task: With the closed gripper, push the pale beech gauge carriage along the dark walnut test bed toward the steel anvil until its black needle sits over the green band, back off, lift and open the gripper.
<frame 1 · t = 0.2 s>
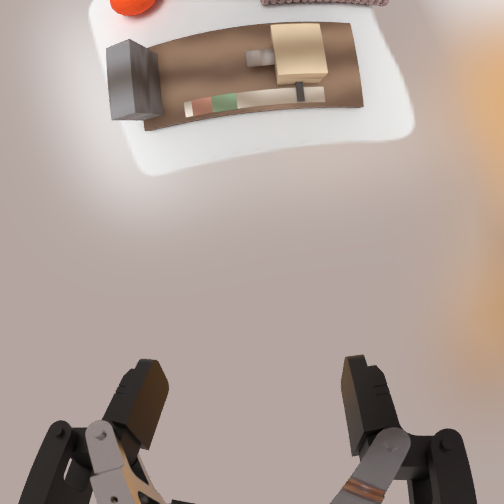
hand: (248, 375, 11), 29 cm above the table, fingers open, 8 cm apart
gauge carriage: (284, 65, 25), point 5 cm above the table, slide at 0.0 cm
clementine: (147, 1, 25), on the table
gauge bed: (246, 69, 29), on the table
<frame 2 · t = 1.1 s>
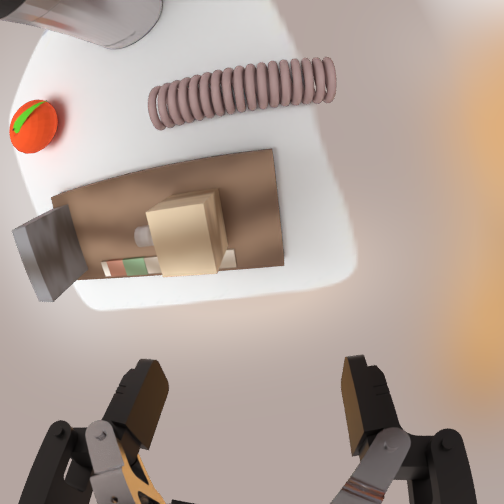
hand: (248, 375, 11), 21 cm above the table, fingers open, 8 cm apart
gauge carriage: (178, 244, 25), point 5 cm above the table, slide at 0.0 cm
clementine: (53, 121, 26), on the table
coil: (244, 92, 24), on the table
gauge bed: (155, 220, 30), on the table
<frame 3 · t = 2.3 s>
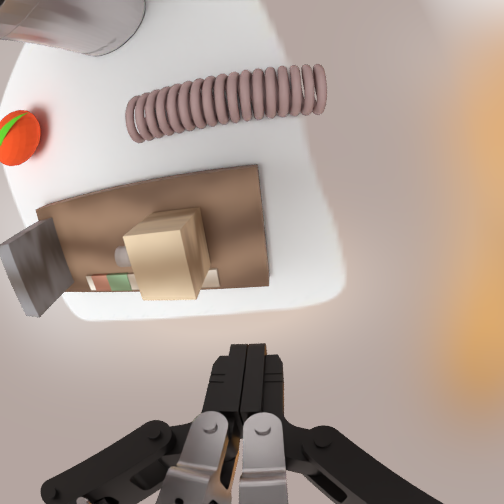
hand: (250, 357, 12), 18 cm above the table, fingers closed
gauge carriage: (159, 265, 24), point 5 cm above the table, slide at 0.0 cm
clementine: (37, 131, 24), on the table
coil: (228, 101, 23), on the table
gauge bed: (138, 236, 29), on the table
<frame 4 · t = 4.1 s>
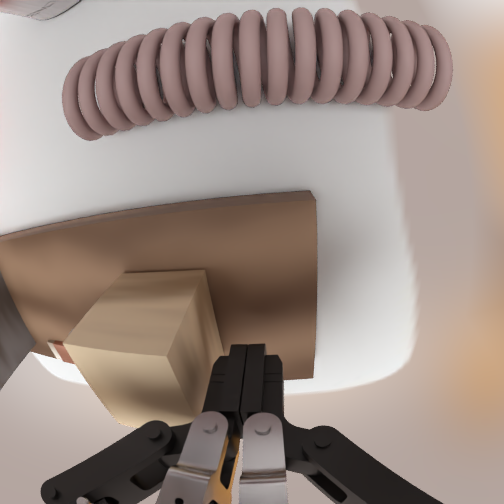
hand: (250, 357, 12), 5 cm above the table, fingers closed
gauge carriage: (139, 366, 13), point 5 cm above the table, slide at 0.0 cm, touching gripper
coil: (257, 69, 12), on the table
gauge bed: (110, 296, 18), on the table
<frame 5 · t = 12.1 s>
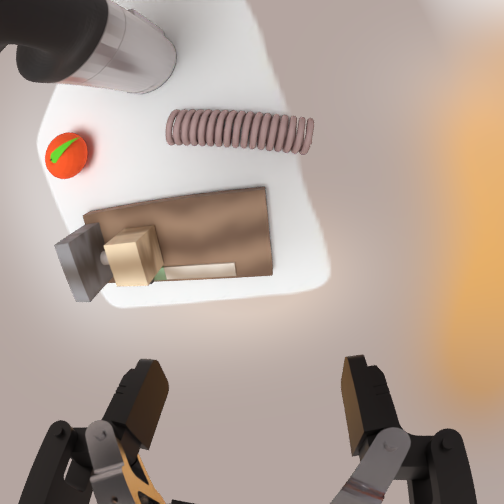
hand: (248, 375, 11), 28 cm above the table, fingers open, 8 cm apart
gauge carriage: (128, 263, 36), point 5 cm above the table, slide at 9.9 cm
clementine: (82, 150, 34), on the table
coil: (241, 129, 33), on the table
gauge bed: (172, 238, 39), on the table
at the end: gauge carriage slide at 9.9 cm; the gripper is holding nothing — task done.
